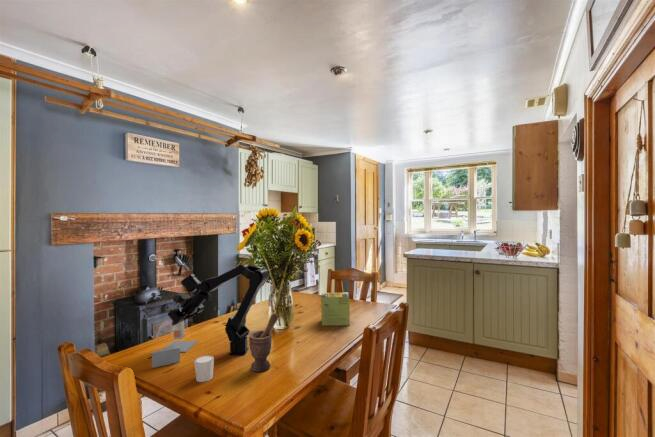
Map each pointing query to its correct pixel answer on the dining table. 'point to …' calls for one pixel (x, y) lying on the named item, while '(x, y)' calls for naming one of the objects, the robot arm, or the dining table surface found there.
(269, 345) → the mortar and pestle
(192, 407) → the dining table surface
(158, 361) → the screen
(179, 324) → the white rounded cylinder
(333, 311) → the protein box
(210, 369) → the shot glass
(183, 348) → the slate mat
